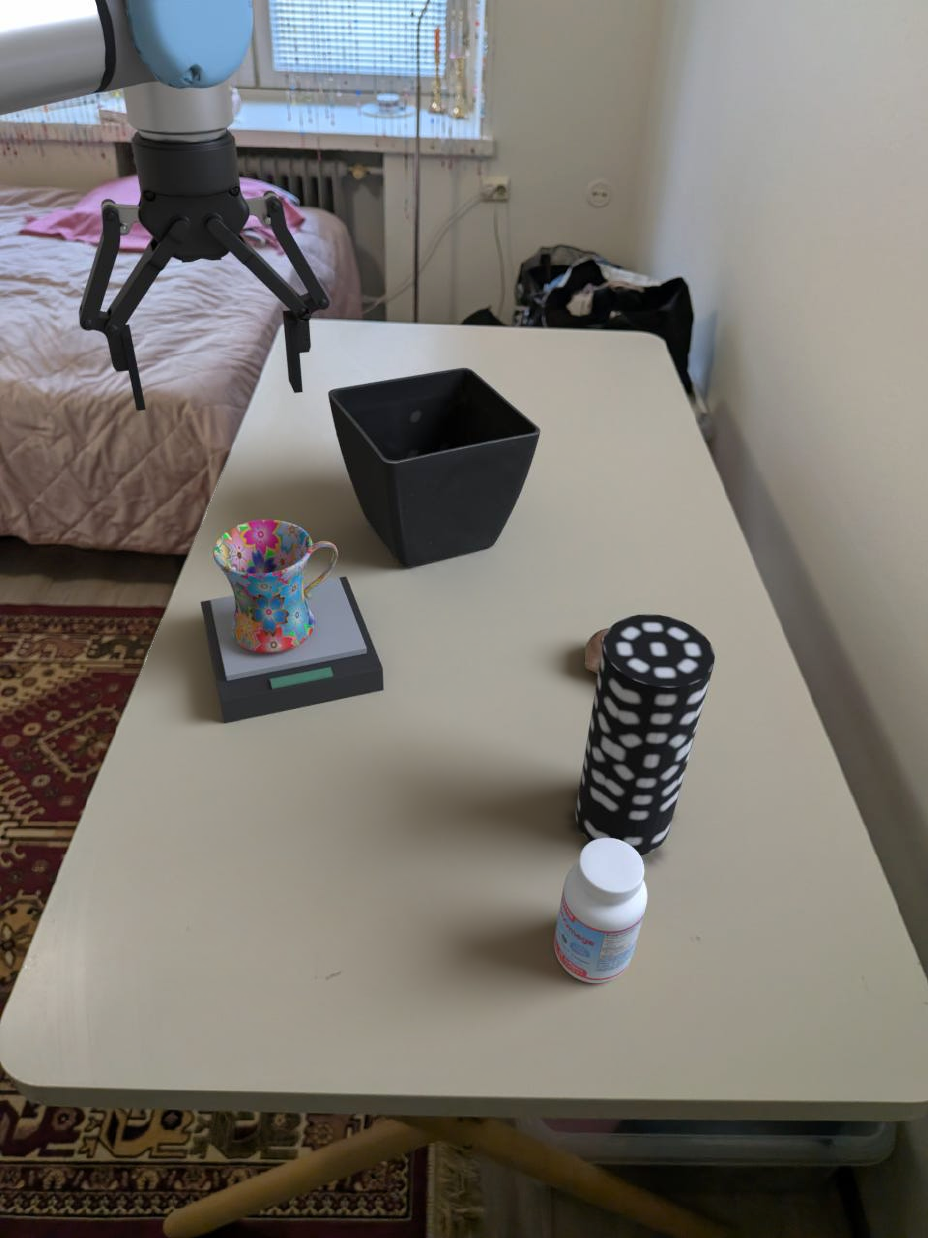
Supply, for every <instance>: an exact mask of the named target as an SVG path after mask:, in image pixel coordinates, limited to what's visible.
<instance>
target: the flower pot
mask: <svg viewBox="0 0 928 1238" xmlns="http://www.w3.org/2000/svg"><path fill="white" fill-rule="evenodd" d="M327 397H328V403H329V407H330V411H331V416H332V421H333V425H334V429H335V434H336V437H337V441H338V445H339V449H340V453H341V456H342V459H343V463H344V465H345V468H346V469H345V470H346V472H347V474H348V477H349V480H350V483H351V486H352V488H353V491H354V494H355V496H356V498H357V499H356V500H357V502H358V504H359V507H360V509H361V511H362V514H363V515H364V518H365V520H366V521H367V522H368V524H369V525H370V526H371V528H372V530H373V531H374V532H375V533H376V535H377V536H378V538H379V539H380V541H381V542H382V543H383V544H384V546H385V548H387V550H388V551H389V552H390V554H391V555H392V557H393V558H394V559H395V561H396V562H397V564H398V565H399V566H401V567H403V568H412V567H416V566H421V565H423V564H429V563H431V562H435V561H440V560H444V559H449V558H452V557H456V556H461V555H464V554H468V553H472V552H476V551H480V550H484V549H489V548H491V547H493V546H495V544H496V542H497V541H498V540H499V538H500V536H501V534H502V532H503V530H504V528H505V527H506V525H507V522H508V521H509V519H510V517H511V515H512V513H513V510H514V508H515V506H516V504H517V502H518V499H519V498H520V495H521V493H522V490H523V488H524V485H525V482H526V481H527V477H528V475H529V473H530V469H531V466H532V463H533V460H534V457H535V454H536V450H537V447H538V443H539V439H540V435H541V428H540V427H539V426H538V425H536V424H535V423H534V422H533V421H532V420H531V419H530V418H528V417H527V416H526V415H525V414H524V413H522V412H521V411H520V410H519V409H518V408H517V407H516V406H515V405H513V404H512V403H511V402H509V401H508V400H507V398H505V397H504V396H503V395H501V394H500V392H498V391H497V390H496V389H495V388H494V387H493V386H492V385H490V384H489V383H488V382H487V381H486V380H485V379H483V377H481V376H480V375H478V373H476V372H475V371H474V370H472V369H471V368H468V367H458V368H452V369H445V370H439V371H432V372H426V373H422V374H421V373H419V374H415V375H409V376H402V377H396V378H391V379H385V380H384V379H383V380H380V381H373V382H372V381H371V382H367V383H362V384H361V383H360V384H356V385H349V386H344V387H343V386H342V387H337V388H333V389H330V390H329V391H328V392H327Z"/></svg>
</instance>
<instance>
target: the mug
mask: <svg viewBox="0 0 928 1238" xmlns="http://www.w3.org/2000/svg"><path fill="white" fill-rule="evenodd" d="M324 547H326V548H331V549H332V555H331V559H330V560H329V563H328V564H327V566H326V568H325V569H324V570H323V571H322V572H321V574H320V575H319V576H318V577H316V579H314V581H311V582H312V583H311V584H310V585H308V586H307V587H306V588H305V589H304V590H303V583H304V575H305V572H306V571H305V570H306V567H307V564H308V561H309V558H310V556H311V555H312V554H313V553H314V552H316V551H317V550H318V549H320V548H324ZM212 556H213V560H214V561H215V563H216V565H217V566H218V567H219V568H220V570H222V572H223V573H224V575H225V577H226V579H227V580H228V582H229V584H230V588H231V590H232V593H233V596H234V597H235V614H234V617H233V619H232V621H231V627H230V629H231V634H232V636H233V638H234V639H235V641H236V642H237V643H238V644H240V645H241V646H243V647H244V648H246V649H249V650H251V651H255V652H261V653H276V652H282V651H286V650H289V649H292V648H294V647H296V646H298V645H300V644H301V643H303V642H304V641H305V640H306V639H307V638H308V637H309V636H310V635H311V633H312V632H313V630H314V627H315V617H314V614H313V612H312V611H311V609H310V608H309V607H308V605H307V603H306V601H305V597H306V598H308V599H310V600H311V599H312V596H311V595H310V594H308V593H309V592H310V591H312V590H313V589H314V588H316V587H317V586H318V585H319V584H321V583H322V582H323V581H324V580H325V579H327V578H328V576H329V575H330V574H331V572H332V570H333V569H334V567H335V566H336V564H337V563H336V562H337V560H338V556H339V551H338V548H337V547H336V545H335V544H334V543H333V542H331V541H328V540H322V541H321V540H320V541H317V542H315V543H313V541H312V538H311V536H310V534H309V533H308V532H307V531H306V530H305V529H304V528H303V527H301V526H299V525H297V524H294V523H291V522H289V521H284V520H278V519H258V520H252V521H247V522H243V523H241V524H238V525H235V526H233V527H231V528H230V529H227V531H225V532H224V533H223V534H221V535H220V536H219V537H218V538H217V540H216V541H215V543H214V545H213V548H212ZM304 596H305V597H304Z"/></svg>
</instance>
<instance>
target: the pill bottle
mask: <svg viewBox="0 0 928 1238" xmlns="http://www.w3.org/2000/svg"><path fill="white" fill-rule="evenodd" d="M641 856H642V855H639V854H638V852H637V851H636V850H635V849H634V848H633V847H632V846H630V845H629V844H627V843H625V842H623V841H621V840H618V839H614V838H600V839H596V840H593V841H591V842H590V841H589V842H588V843H586V845H585V846H583V848H582V849H581V851H580V853H579V856H578V860H577V861H576V862H575V863H574V864H573V865H572V866H571V867H570V869H569V870H568V871H567V874H566V875H565V878H564V882H563V887H562V893H561V899H560V903H559V904H560V905H559V910H558V914H557V915H558V916H557V920H556V927H555V933H554V939H553V947H554V952H555V955H556V958H557V960H558V962H559V964H560V965H561V966H562V968H563V969H564V970H565V971H566V972H567V973H568V974H570V975H571V976H573V977H574V978H575V979H578V980H580V981H583V982H585V983H590V984H601V983H602V984H603V983H608V982H611V981H613V980H614V979H617V978H618V977H619V976H621V975H622V974H623V973H624V972H625V971H626V970H627V969H628V967H629V965H630V963H631V961H632V959H633V955H634V952H635V948H636V945H637V941H638V937H639V934H640V930H641V927H642V922H643V919H644V916H645V912H646V907H647V905H648V904H647V903H648V888H647V885H646V882H645V880H644V877H645V864H644V861H643V858H642V857H641Z"/></svg>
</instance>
